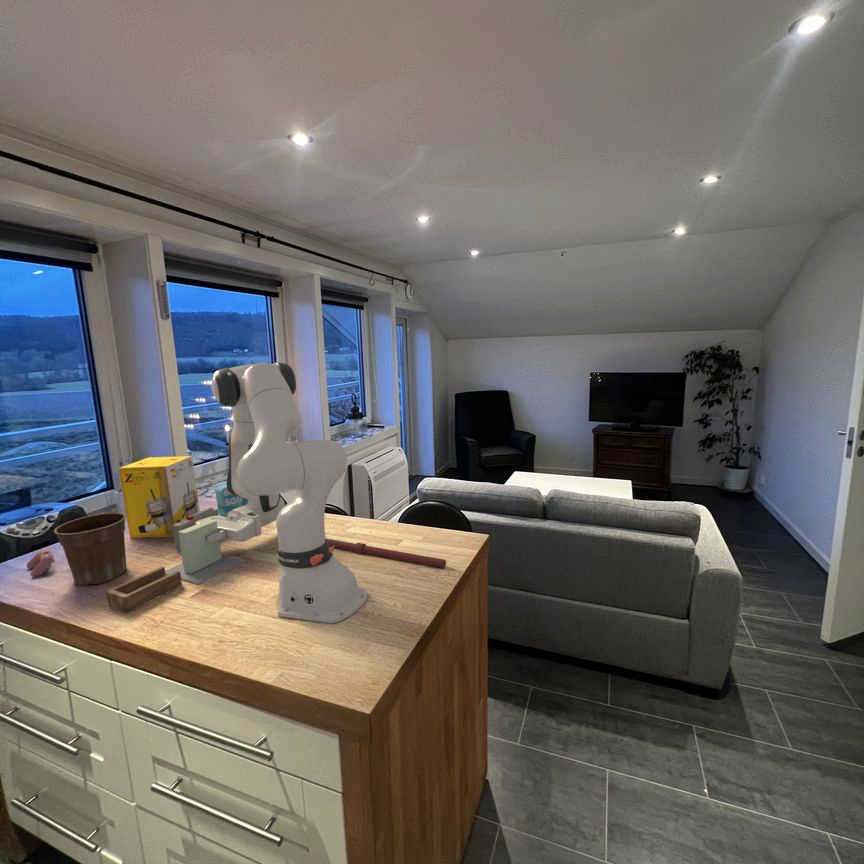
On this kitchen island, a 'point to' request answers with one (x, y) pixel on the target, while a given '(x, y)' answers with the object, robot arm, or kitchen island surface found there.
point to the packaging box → (158, 494)
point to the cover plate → (199, 546)
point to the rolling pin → (387, 553)
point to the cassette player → (191, 523)
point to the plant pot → (94, 547)
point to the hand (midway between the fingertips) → (201, 538)
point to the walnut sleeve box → (142, 589)
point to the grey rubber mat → (206, 570)
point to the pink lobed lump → (41, 562)
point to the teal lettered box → (228, 500)
